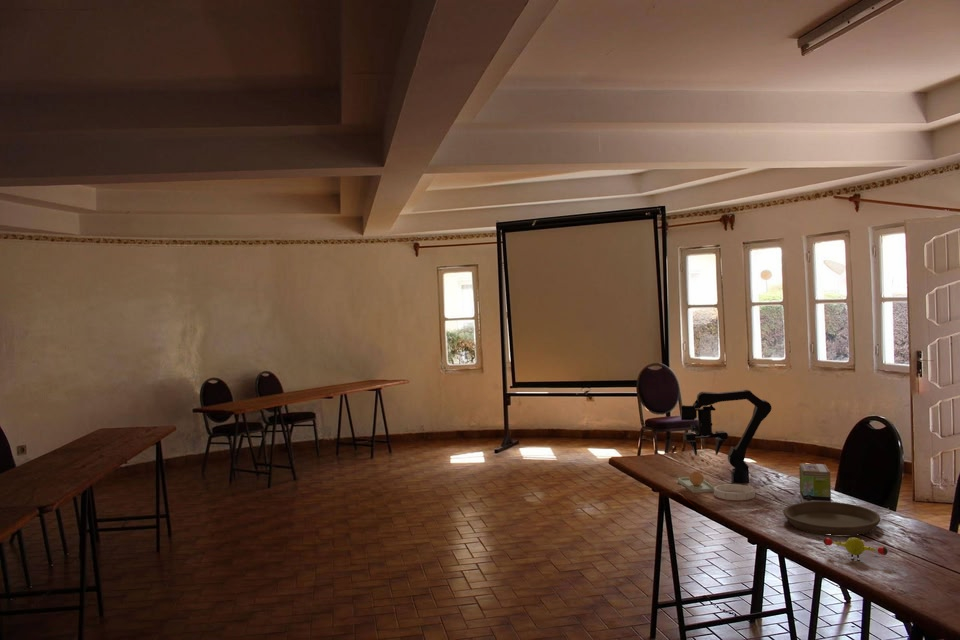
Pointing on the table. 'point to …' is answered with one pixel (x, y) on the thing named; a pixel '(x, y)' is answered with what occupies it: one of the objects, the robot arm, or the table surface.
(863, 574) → the table surface
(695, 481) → the ball
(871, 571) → the table surface
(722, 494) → the bowl
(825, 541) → the toy figure
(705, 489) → the tray
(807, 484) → the tea box
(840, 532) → the plant saucer
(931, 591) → the table surface
